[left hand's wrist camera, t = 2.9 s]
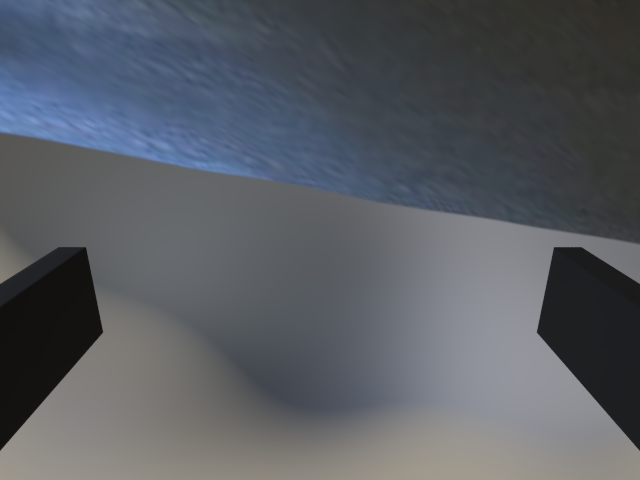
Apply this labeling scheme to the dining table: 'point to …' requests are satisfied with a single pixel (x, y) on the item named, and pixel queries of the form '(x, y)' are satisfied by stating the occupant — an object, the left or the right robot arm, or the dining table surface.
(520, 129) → the dining table surface
